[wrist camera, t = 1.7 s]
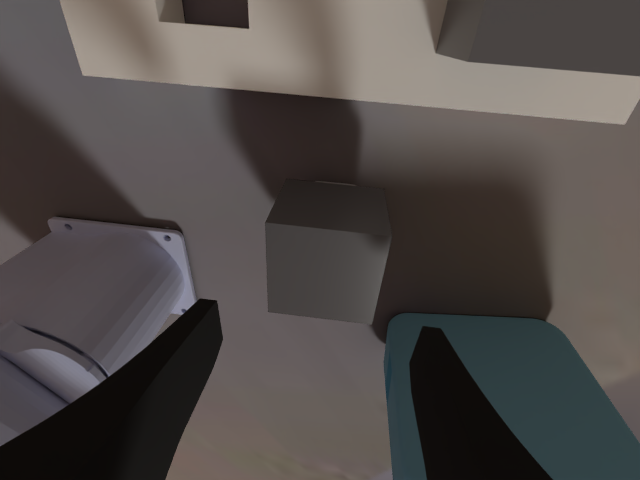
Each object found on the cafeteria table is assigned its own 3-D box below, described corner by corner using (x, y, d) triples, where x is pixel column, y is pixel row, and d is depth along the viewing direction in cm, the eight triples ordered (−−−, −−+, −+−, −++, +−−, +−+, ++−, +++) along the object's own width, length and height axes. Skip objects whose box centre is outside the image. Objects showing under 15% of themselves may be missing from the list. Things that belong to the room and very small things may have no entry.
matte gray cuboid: (292, 234, 21) (268, 312, 15) (294, 162, 18) (265, 222, 13) (367, 243, 21) (372, 324, 15) (380, 170, 18) (392, 236, 12)
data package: (382, 348, 27) (397, 540, 17) (386, 310, 24) (406, 507, 14) (534, 357, 25) (650, 569, 15) (555, 317, 23) (709, 539, 13)
